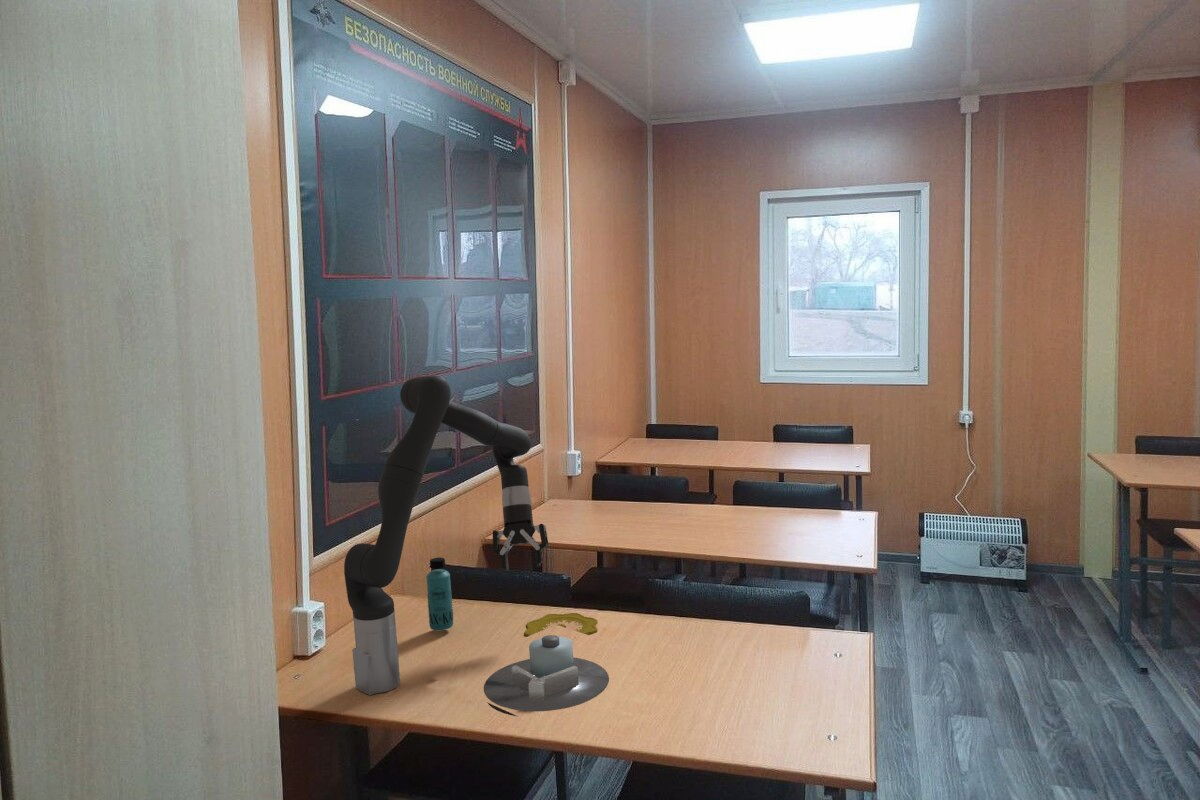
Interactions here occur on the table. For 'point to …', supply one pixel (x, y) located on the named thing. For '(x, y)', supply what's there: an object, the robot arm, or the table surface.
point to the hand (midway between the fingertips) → (522, 567)
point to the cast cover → (550, 655)
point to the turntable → (545, 686)
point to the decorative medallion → (542, 622)
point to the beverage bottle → (439, 596)
